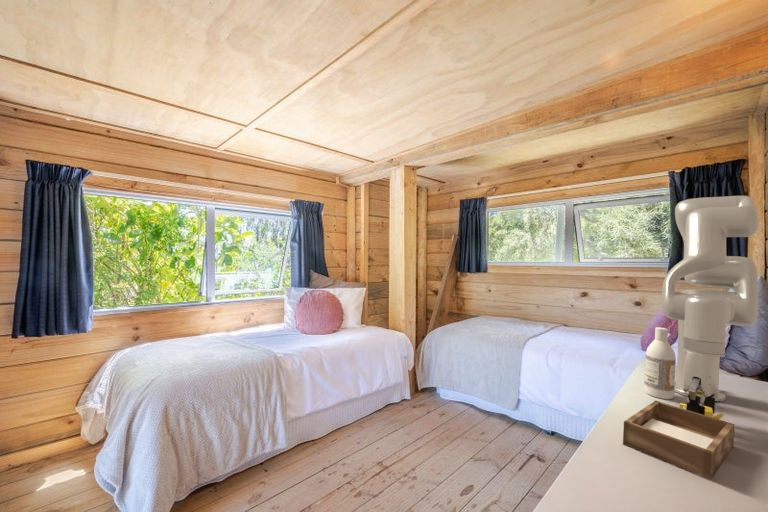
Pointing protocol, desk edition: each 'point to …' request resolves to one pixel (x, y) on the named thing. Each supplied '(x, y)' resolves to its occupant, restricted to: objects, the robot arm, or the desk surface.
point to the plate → (678, 433)
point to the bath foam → (660, 366)
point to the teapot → (706, 411)
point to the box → (678, 450)
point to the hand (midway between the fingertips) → (700, 416)
